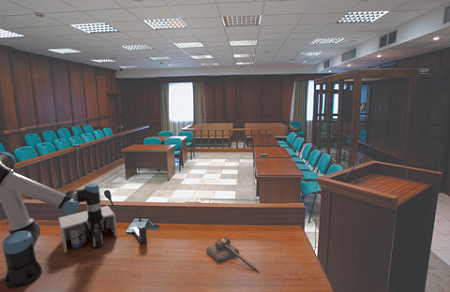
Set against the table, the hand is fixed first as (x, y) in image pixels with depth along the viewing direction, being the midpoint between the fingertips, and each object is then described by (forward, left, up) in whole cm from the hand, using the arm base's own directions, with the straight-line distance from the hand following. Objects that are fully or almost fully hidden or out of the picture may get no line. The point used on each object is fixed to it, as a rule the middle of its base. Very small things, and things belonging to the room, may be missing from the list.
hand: (98, 244), depth 160 cm
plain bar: (+4, -24, -2) cm, 24 cm away
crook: (+7, +7, -1) cm, 10 cm away
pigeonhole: (+12, +7, -2) cm, 14 cm away
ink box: (+8, +12, -2) cm, 14 cm away
